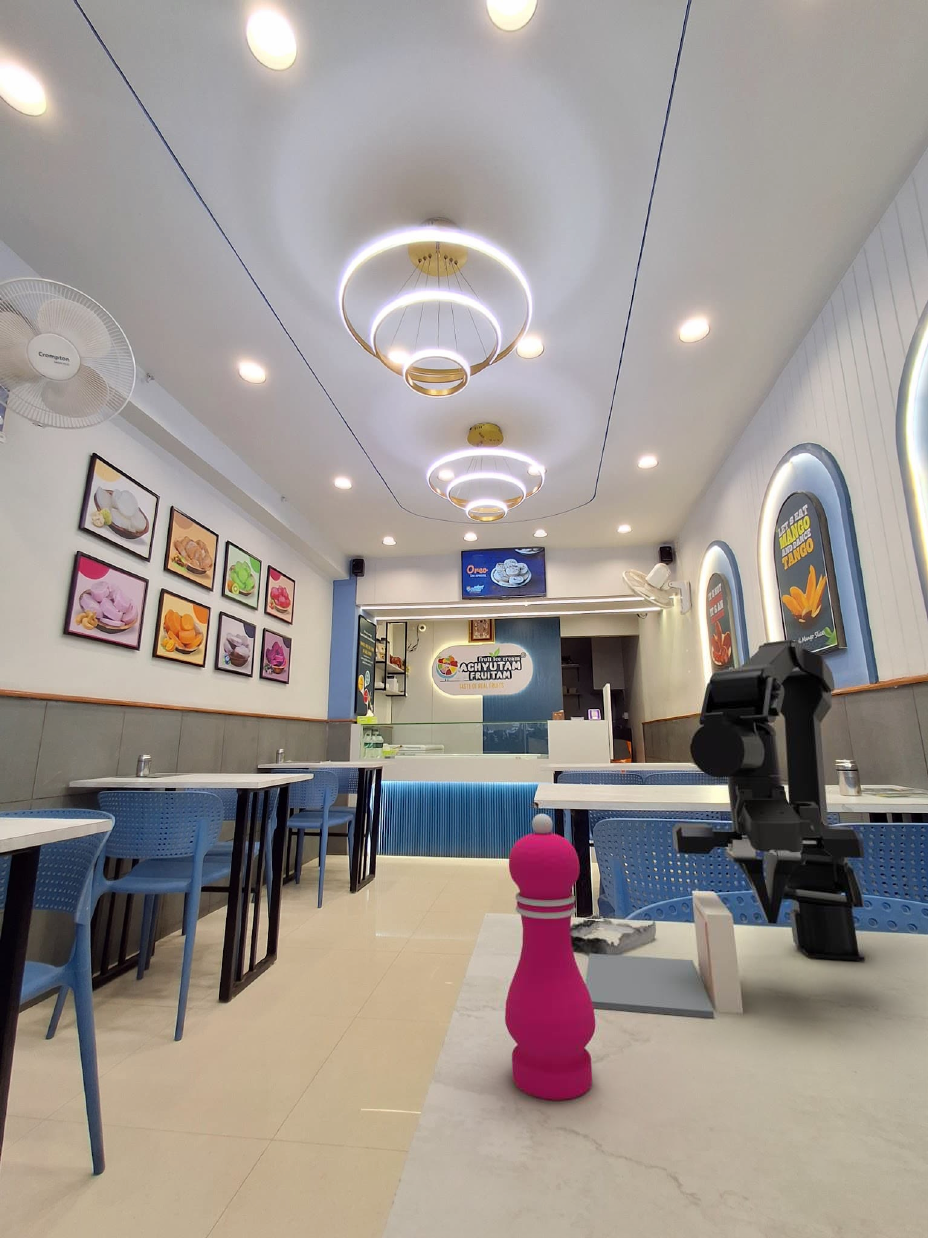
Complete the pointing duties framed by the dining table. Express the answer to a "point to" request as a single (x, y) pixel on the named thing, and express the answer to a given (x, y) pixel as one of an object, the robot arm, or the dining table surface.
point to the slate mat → (647, 985)
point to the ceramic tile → (717, 951)
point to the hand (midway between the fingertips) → (771, 923)
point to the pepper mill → (548, 972)
